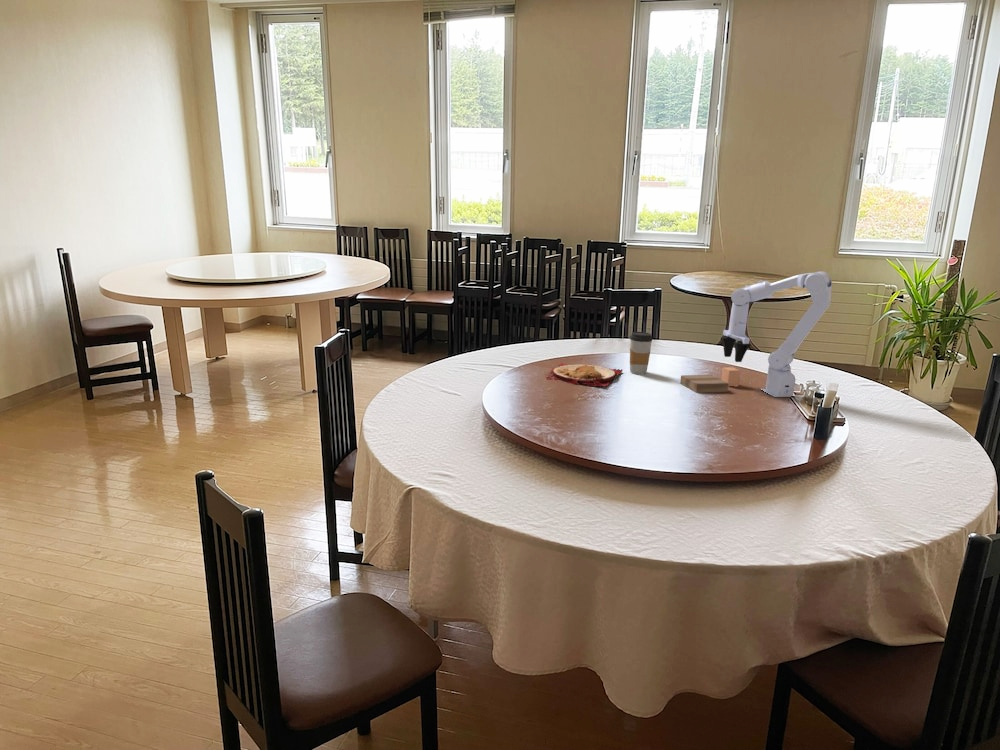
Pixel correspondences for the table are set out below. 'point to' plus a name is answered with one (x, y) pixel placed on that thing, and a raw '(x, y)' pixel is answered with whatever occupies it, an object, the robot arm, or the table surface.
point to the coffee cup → (639, 352)
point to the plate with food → (585, 374)
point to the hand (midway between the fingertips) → (732, 359)
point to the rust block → (731, 375)
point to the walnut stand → (704, 383)
